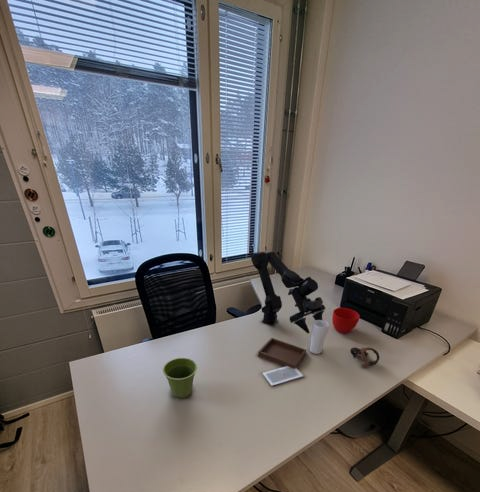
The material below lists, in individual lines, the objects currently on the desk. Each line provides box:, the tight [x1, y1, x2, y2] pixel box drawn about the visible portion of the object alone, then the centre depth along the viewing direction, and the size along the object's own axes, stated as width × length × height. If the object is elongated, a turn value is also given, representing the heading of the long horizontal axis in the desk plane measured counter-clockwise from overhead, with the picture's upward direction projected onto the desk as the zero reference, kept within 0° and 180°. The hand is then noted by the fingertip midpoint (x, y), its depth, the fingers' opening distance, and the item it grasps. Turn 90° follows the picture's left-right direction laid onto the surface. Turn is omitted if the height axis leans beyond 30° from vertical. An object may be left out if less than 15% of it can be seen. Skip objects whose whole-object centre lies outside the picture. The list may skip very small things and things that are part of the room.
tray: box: [257, 337, 307, 369], centre depth 121 cm, size 18×14×2 cm
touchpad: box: [261, 366, 304, 387], centre depth 109 cm, size 8×15×2 cm, turn 113°
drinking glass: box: [309, 319, 330, 355], centre depth 121 cm, size 7×7×15 cm
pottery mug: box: [349, 346, 380, 369], centre depth 118 cm, size 12×10×8 cm
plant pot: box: [162, 357, 198, 399], centre depth 97 cm, size 12×12×11 cm
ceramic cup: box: [331, 306, 361, 334], centre depth 142 cm, size 13×17×10 cm
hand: (315, 330), depth 121 cm, fingers open, 9 cm apart
